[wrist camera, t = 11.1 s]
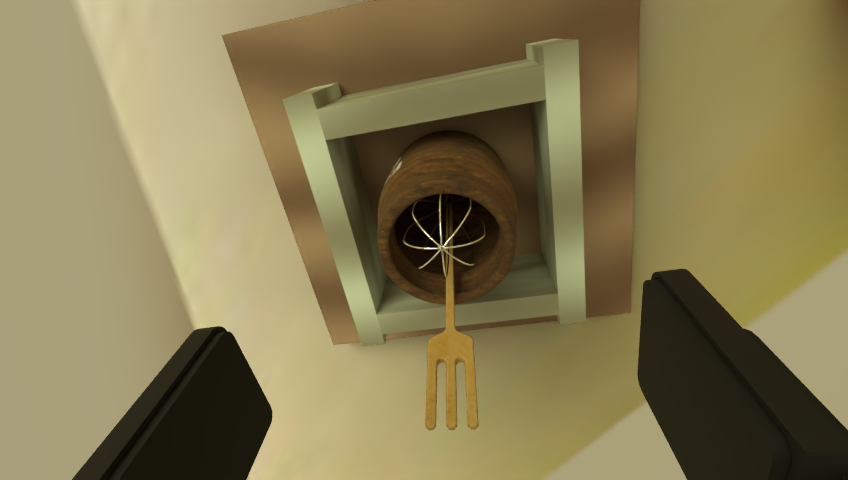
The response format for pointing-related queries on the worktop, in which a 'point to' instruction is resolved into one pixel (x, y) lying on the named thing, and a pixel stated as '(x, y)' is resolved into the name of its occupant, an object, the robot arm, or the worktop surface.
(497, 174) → the utensil holder
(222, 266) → the worktop surface
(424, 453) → the worktop surface
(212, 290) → the worktop surface
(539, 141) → the collar stand
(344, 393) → the worktop surface
